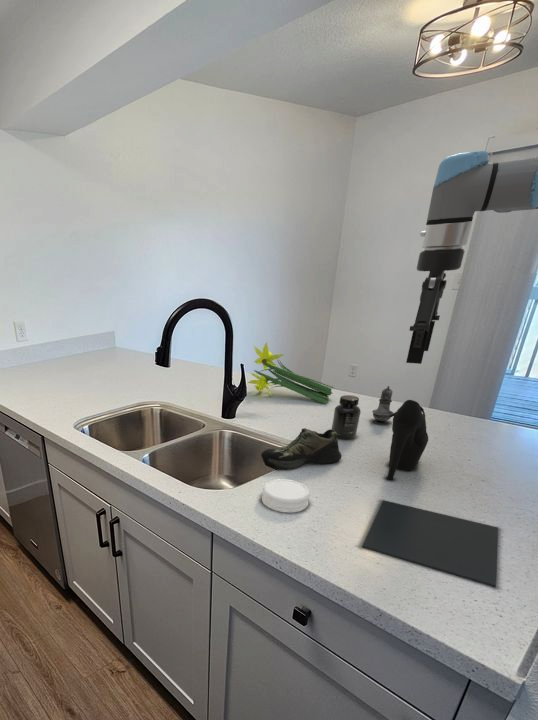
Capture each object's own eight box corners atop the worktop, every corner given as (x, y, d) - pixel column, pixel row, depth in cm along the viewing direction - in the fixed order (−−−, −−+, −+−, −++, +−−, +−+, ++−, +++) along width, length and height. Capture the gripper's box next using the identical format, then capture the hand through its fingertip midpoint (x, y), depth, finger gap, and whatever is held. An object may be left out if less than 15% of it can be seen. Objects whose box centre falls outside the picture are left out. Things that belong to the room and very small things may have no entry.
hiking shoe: (254, 459, 119) (257, 428, 114) (327, 450, 121) (332, 419, 117) (267, 473, 111) (270, 440, 107) (345, 463, 114) (351, 430, 109)
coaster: (297, 518, 92) (299, 504, 90) (253, 504, 98) (255, 491, 96) (314, 499, 99) (316, 485, 97) (273, 487, 105) (274, 474, 103)
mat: (497, 529, 85) (497, 527, 84) (494, 588, 71) (495, 585, 71) (382, 502, 96) (383, 500, 96) (361, 548, 82) (362, 545, 82)
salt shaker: (365, 421, 139) (373, 384, 134) (380, 418, 141) (388, 382, 135) (380, 427, 134) (388, 389, 129) (395, 424, 136) (404, 386, 130)
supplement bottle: (358, 435, 130) (366, 396, 124) (351, 442, 125) (358, 402, 120) (334, 430, 134) (341, 392, 129) (327, 437, 129) (333, 398, 124)
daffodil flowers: (316, 412, 151) (230, 375, 167) (319, 421, 165) (239, 386, 180) (342, 369, 149) (252, 335, 164) (343, 381, 162) (259, 349, 177)
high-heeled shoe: (425, 460, 113) (446, 385, 103) (404, 488, 101) (426, 406, 92) (392, 453, 118) (409, 380, 108) (368, 479, 106) (385, 399, 97)
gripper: (426, 248, 97) (405, 345, 107) (412, 251, 80) (389, 367, 89) (467, 245, 93) (442, 346, 103) (462, 249, 76) (432, 370, 85)
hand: (417, 356), depth 96 cm, fingers open, 13 cm apart
